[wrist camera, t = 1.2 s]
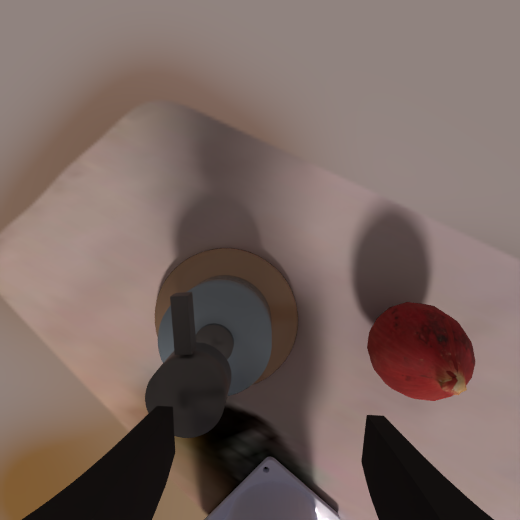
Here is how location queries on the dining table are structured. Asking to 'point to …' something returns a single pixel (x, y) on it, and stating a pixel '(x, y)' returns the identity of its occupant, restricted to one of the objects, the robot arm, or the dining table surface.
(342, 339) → the dining table surface
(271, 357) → the dispenser
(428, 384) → the red round fruit
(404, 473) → the robot arm
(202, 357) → the pump head
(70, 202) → the dining table surface
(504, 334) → the dining table surface
